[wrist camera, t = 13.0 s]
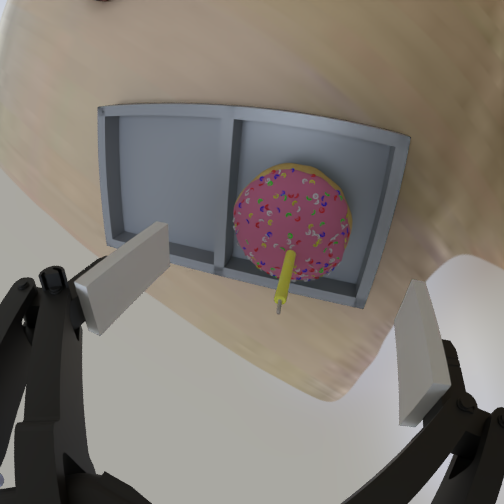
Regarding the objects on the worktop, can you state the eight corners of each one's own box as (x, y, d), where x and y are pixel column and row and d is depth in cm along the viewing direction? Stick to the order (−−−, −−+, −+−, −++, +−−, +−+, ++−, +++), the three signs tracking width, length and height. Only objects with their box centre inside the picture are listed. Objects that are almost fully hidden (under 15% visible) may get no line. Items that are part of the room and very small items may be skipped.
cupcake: (365, 237, 25) (368, 329, 14) (276, 262, 28) (230, 352, 18) (328, 140, 22) (310, 166, 12) (236, 177, 26) (158, 229, 16)
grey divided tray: (403, 133, 21) (410, 137, 18) (362, 290, 28) (363, 309, 25) (117, 104, 26) (97, 106, 24) (122, 234, 34) (106, 245, 31)
